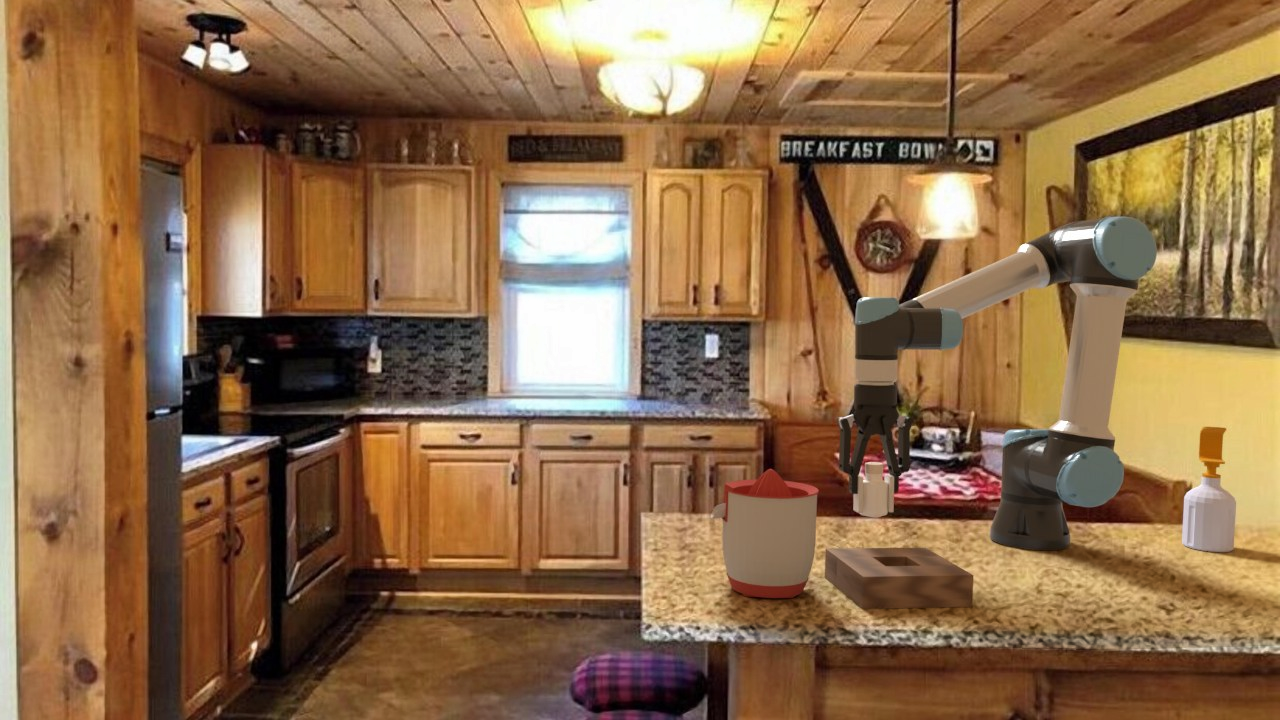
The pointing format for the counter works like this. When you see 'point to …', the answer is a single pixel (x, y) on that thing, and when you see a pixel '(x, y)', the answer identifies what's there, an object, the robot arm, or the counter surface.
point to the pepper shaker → (874, 491)
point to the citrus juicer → (768, 535)
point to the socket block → (898, 578)
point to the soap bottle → (1209, 501)
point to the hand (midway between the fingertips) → (873, 510)
